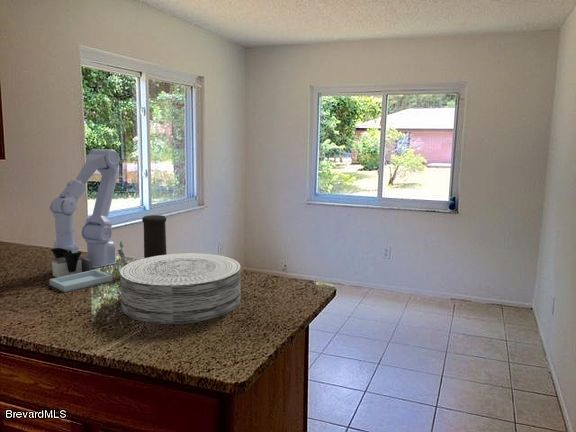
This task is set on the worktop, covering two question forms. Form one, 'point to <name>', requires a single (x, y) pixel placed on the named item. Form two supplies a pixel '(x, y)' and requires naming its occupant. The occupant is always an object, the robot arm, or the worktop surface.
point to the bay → (85, 266)
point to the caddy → (64, 267)
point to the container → (154, 235)
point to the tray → (80, 280)
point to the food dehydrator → (179, 287)
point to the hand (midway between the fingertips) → (67, 269)
